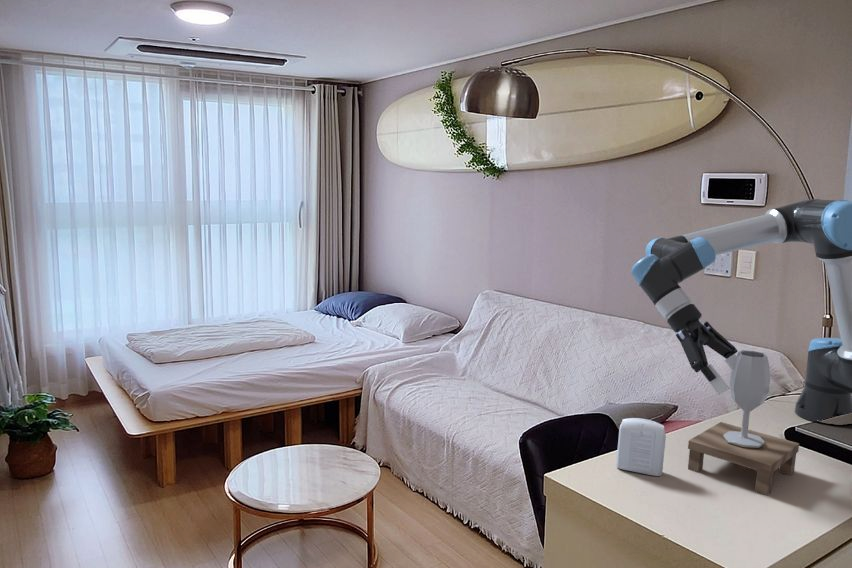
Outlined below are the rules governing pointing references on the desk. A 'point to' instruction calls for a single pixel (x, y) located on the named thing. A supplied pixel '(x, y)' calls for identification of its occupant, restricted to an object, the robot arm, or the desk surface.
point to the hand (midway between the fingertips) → (736, 385)
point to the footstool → (744, 454)
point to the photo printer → (641, 446)
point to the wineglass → (748, 393)
